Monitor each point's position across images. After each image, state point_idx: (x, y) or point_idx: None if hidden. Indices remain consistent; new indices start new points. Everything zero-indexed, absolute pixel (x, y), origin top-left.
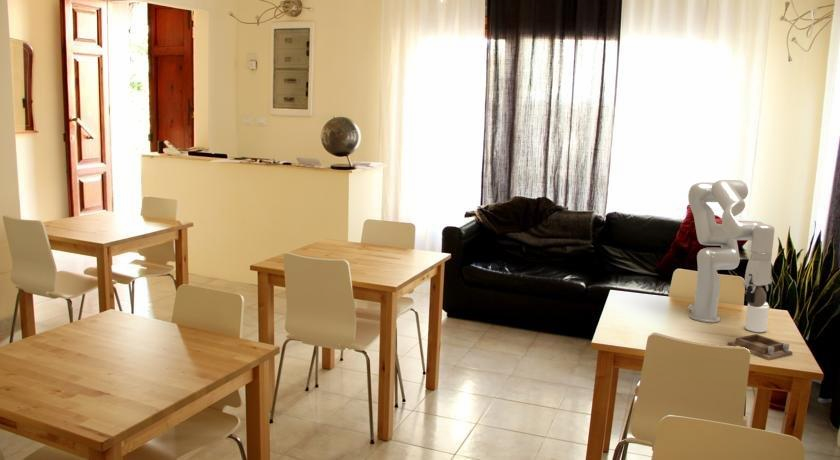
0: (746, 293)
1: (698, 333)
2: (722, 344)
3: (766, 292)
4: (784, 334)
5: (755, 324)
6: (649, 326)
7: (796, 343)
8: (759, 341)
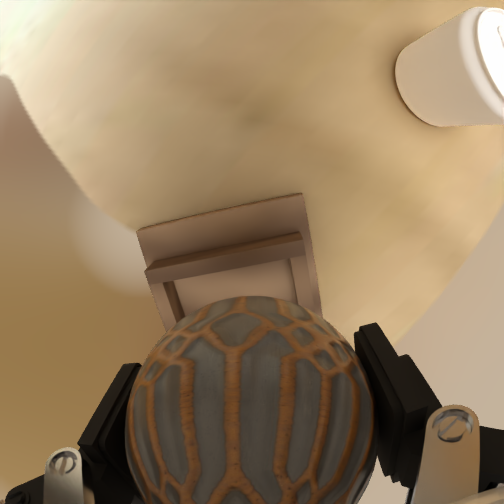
0: (89, 423)
1: (117, 68)
2: (125, 217)
3: (389, 473)
4: (494, 171)
5: (423, 103)
6: (18, 12)
7: (453, 269)
8: (290, 264)
